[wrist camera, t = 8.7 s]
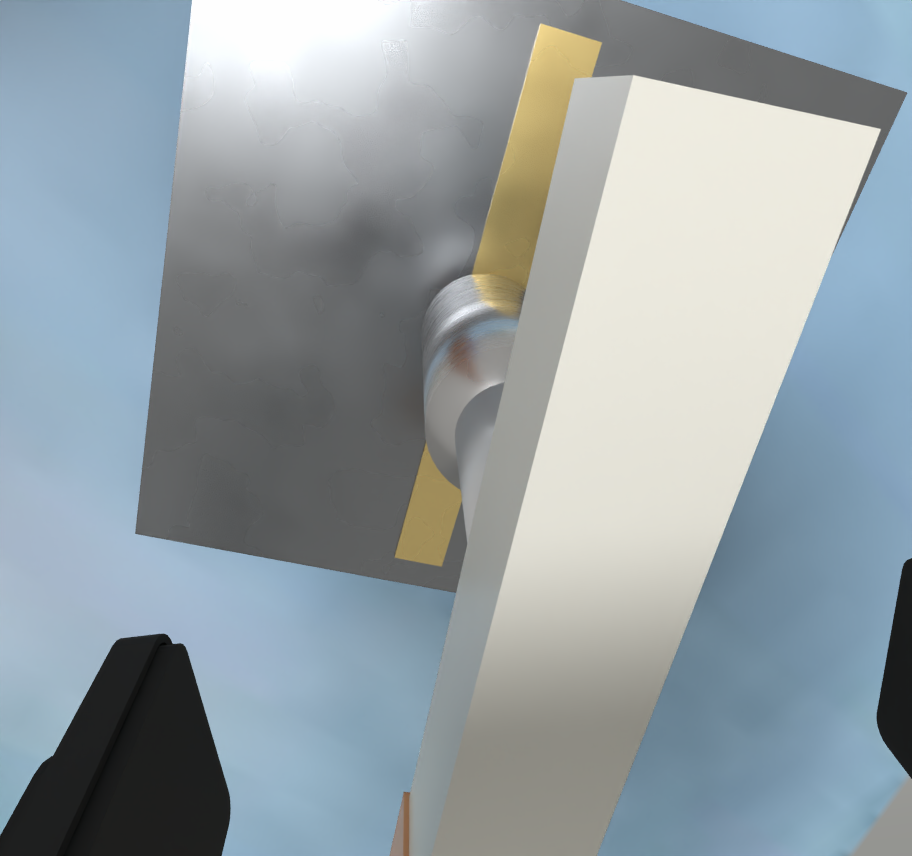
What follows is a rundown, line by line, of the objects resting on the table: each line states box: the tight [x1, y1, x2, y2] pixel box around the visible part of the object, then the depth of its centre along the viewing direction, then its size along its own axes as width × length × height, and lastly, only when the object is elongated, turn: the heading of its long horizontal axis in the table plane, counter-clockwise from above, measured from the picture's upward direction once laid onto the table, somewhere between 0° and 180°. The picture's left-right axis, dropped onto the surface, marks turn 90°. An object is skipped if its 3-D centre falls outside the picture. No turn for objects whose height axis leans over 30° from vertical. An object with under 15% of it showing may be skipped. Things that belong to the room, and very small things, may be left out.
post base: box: [135, 0, 907, 593], centre depth 19 cm, size 18×18×8 cm
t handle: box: [390, 75, 881, 856], centre depth 13 cm, size 3×14×7 cm, turn 169°
